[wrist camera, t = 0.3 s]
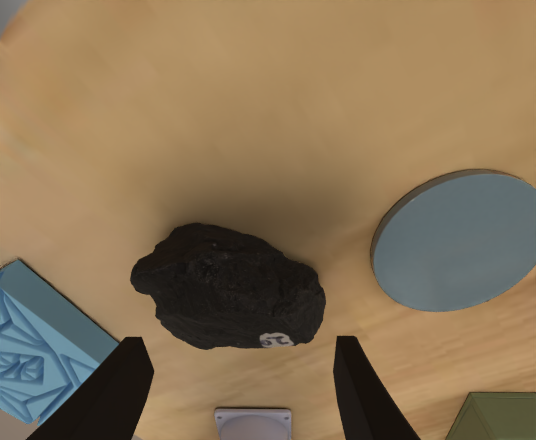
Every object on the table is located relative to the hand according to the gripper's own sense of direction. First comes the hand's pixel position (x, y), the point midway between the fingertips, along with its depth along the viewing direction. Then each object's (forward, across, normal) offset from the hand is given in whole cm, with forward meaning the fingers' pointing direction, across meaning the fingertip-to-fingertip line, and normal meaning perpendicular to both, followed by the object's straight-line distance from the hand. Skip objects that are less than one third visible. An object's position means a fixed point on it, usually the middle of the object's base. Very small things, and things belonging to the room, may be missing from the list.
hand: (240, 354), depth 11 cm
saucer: (+10, -13, +2) cm, 17 cm away
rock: (+10, +2, +4) cm, 11 cm away
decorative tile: (+14, +20, +9) cm, 26 cm away
